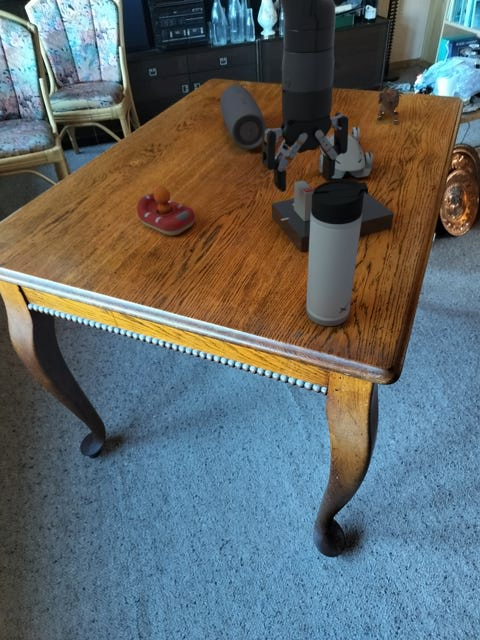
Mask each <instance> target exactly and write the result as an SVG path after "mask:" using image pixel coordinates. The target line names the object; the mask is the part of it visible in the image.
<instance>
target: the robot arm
mask: <svg viewBox="0 0 480 640" xmlns="http://www.w3.org/2000/svg"><path fill="white" fill-rule="evenodd" d="M279 1H280V6H281V10H282V15H283V54H282V60H281V117H282V121H281V125H280V127H276V128H270V127H268V126H266V127H265V128H264V129H263V141H262V144H261V145H262V146H261V148H262V149H261V163H262V165H264V166H265V167H266V169H268V170H269V171H273V185H274V186H275V187H276V189H277V190H279V191H280V192H281V193H284V192H286V191H287V170H286V168H287V166H288V165H289V163H290V161H292V160H294V158H295V156H297V154H302V153H303V154H304V153H305V152H307V151H316V150H318V148H319V147H320V148H321V149H320V148H319V149H320V151H321V150H322V151H323V152H324V154H325V156H323V168H322V173H321V176H322V178H323V180H325V182H328V181H332V180H333V179H332V177H333V176H334V173H335V161H336V158H337V156H338V155H340V154H341V153H342V154H345V153H346V152H347V148H348V135H349V121H350V120H349V117H348V116H346V115H344V114H343V113H342V112H336V113H335V114H334V116H331V113H332V105H333V104H332V103H333V93H334V92H333V90H334V77H335V53H334V52H335V51H334V47H335V46H334V45H335V30H336V5H335V1H334V0H279ZM331 129H333V134H334V146H332V145H331V144H330V142H329V141H328V139H327V138H326V137H327V136H328V133H330V130H331ZM280 138H282V142H281V144H280V145H279V147H278V149H277V153H276V145H277V144H278V143H279V139H280Z"/></svg>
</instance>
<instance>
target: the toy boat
mask: <svg viewBox="0 0 480 640" xmlns="http://www.w3.org/2000/svg"><path fill="white" fill-rule="evenodd" d="M136 212H137V216H138V218H139V220H140V221H141V223H142V224H144V226H146V227H148V228H150V229H153V230H155V231H157V232H159V233H161V234H163V235H166V236H172V237H173V236H177V235H180V234H181V233H182V232H185V231H186V230H188V229H189V228H191V227H192V226H193V225H194V223H195V220H196V213H195V211H194V210H193V208H191V207H189V206H186V205H184V204H181V203H180V202H179V203H178V202H176V201H174V200H171V193H170V190H169V189H168V188H166V187H163V186H161V187H157V188H156V189H155V190H154V192H153V193H148V194H145V195H143V196H142V197H141V198H140V199H139V200H138V202H137V205H136Z"/></svg>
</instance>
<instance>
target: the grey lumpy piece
mask: <svg viewBox="0 0 480 640" xmlns="http://www.w3.org/2000/svg"><path fill="white" fill-rule="evenodd" d="M360 129H361V128H360V127H358V126H353V127H352V129H351V133H350V134H348V148H347V152H346V153H345V154H342V153H341V154H340V155H338V156H337V158H336V161H335V173H334V176H333V177H332V180H338V179H343V177H346V176H349V177H352V178H353V179H362V178H367V177H368V176H370V174H371V171H372V169H373V167H374V154H373V152H371V151H366V152H364V151H363V149H362V147H361V145H360V137H361V130H360ZM326 138H327V139H328V141H329V142H330V144H331V145H332V146H334V133H332V134H329V135H327V136H326ZM318 148H319V150H320V153H321V154H320V155H319V156H318V157H319V158H318V170H319V173H321V174H322V168H323V156H325V154H324V152H323V151H322V150H321V148H320V147H318Z"/></svg>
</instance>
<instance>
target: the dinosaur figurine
mask: <svg viewBox="0 0 480 640" xmlns="http://www.w3.org/2000/svg"><path fill="white" fill-rule="evenodd" d="M398 86H399V85H398V84H397V85H394V86H393V87H389V85H387V86H386V87H385V88H384V89H383V90H382V91H380V93H379V94H378V101H377V104H378V105H380V106H379V107H378V113H377V118H376V120H378V121H382V120H383V119H382V118H383V116H384V115H385V114H387V115H389V114H390V115H391V116H392V119H393V124H394V125H399V124H400V123H399V120H398V118H397V115H398V114H399V112H398V111H397V112H394V110H396V109H397V108H398V106H399V104H400V98H402V96H403V95H404V94H405V93H404V92H402V91H403V90H404V88H402V87H398ZM397 87H398V88H397ZM382 112H384V114H382ZM378 116H382V117H378ZM394 120H398V121H394Z"/></svg>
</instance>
